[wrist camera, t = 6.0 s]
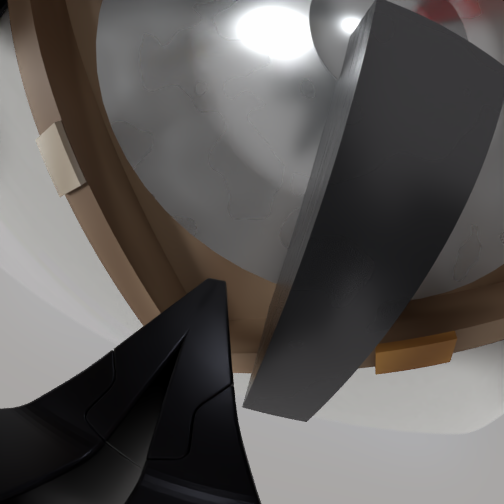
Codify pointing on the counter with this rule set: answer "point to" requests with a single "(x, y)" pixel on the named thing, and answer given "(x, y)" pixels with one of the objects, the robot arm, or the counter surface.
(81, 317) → the counter surface
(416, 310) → the wooden tray
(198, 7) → the dial
